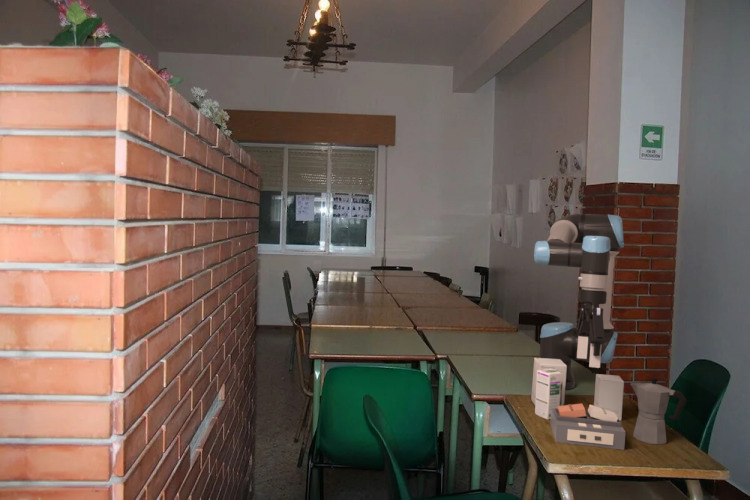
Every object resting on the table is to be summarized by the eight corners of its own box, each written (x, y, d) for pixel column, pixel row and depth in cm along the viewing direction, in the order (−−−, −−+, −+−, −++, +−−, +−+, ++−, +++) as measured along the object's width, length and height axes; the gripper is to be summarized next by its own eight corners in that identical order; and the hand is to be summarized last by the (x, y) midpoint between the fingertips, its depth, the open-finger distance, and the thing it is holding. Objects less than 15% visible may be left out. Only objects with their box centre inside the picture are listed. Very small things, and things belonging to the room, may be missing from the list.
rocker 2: (587, 410, 168) (590, 403, 168) (612, 418, 167) (614, 411, 167) (590, 416, 163) (593, 409, 163) (615, 424, 162) (618, 417, 162)
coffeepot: (619, 435, 168) (624, 374, 167) (633, 428, 175) (637, 369, 174) (675, 452, 157) (681, 387, 156) (688, 444, 164) (693, 382, 163)
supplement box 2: (621, 421, 180) (624, 381, 180) (596, 418, 182) (599, 379, 181) (616, 413, 188) (619, 375, 187) (592, 411, 189) (595, 373, 188)
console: (550, 424, 175) (551, 404, 174) (613, 431, 171) (614, 410, 171) (555, 442, 161) (557, 420, 160) (624, 450, 157) (626, 428, 157)
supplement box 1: (536, 408, 189) (539, 363, 188) (530, 400, 198) (533, 357, 197) (564, 410, 188) (567, 365, 187) (557, 401, 197) (560, 358, 196)
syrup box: (547, 420, 179) (550, 373, 178) (534, 413, 184) (536, 368, 183) (561, 417, 181) (564, 372, 180) (547, 411, 186) (550, 367, 185)
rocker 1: (558, 413, 170) (557, 405, 170) (583, 410, 168) (581, 402, 168) (560, 418, 165) (559, 411, 165) (586, 416, 163) (584, 408, 163)
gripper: (569, 285, 180) (564, 353, 180) (591, 291, 155) (586, 370, 155) (594, 287, 179) (589, 356, 179) (620, 293, 154) (614, 372, 154)
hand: (587, 362), depth 167 cm, fingers open, 13 cm apart
